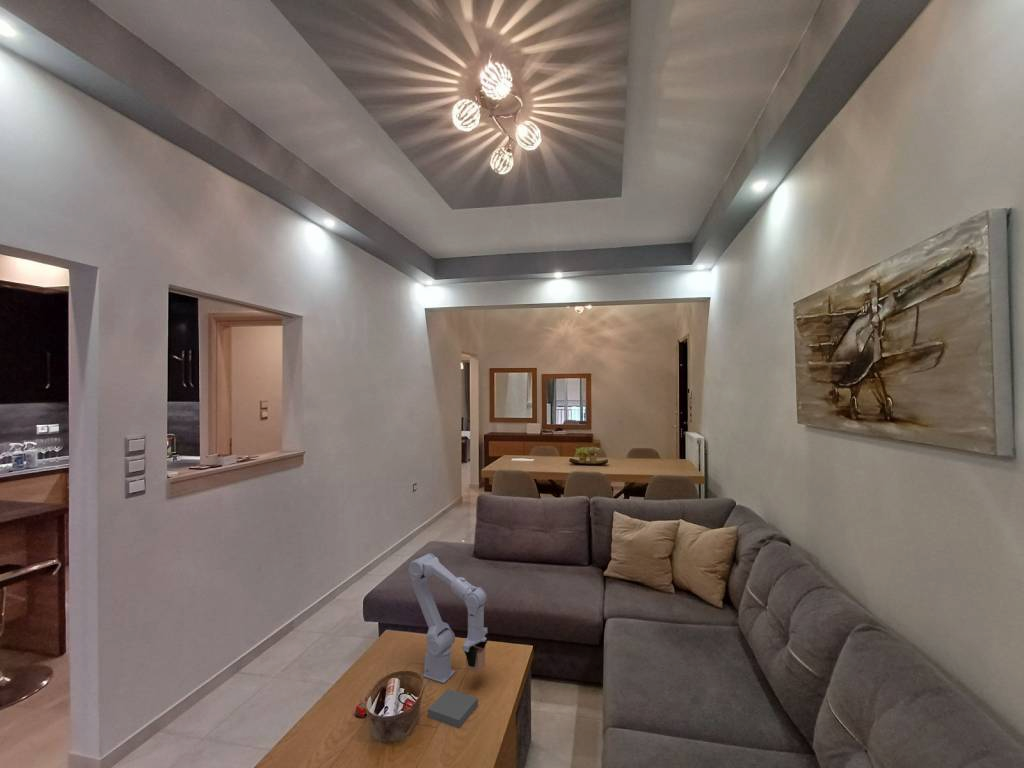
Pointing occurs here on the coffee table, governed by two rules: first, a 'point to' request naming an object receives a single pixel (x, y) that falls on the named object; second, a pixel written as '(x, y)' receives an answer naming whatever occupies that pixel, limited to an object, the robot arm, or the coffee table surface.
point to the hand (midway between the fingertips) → (475, 662)
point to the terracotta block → (478, 660)
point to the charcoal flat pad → (453, 708)
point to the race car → (361, 710)
